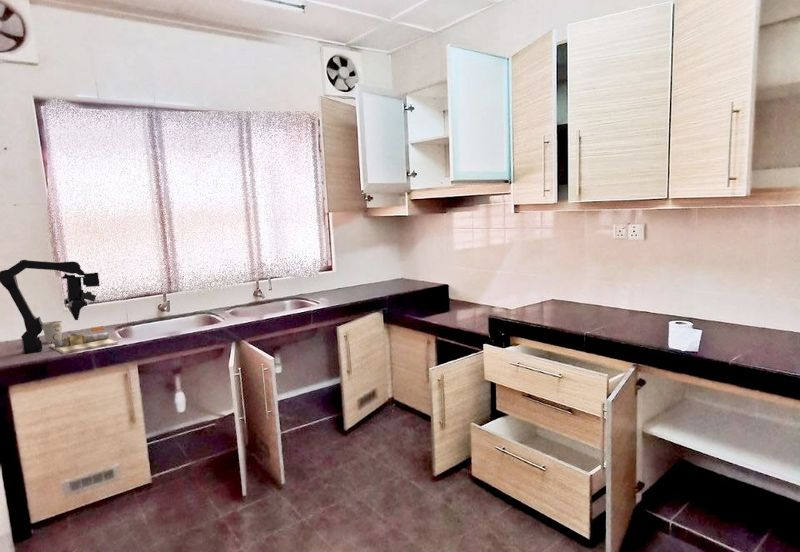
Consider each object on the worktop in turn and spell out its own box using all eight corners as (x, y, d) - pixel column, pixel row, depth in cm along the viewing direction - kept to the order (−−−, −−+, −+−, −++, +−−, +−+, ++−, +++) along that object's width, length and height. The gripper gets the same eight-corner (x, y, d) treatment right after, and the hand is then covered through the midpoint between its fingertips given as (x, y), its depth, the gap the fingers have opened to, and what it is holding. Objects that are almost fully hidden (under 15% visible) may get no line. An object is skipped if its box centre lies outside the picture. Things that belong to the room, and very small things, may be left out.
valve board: (63, 353, 217) (62, 341, 216) (50, 346, 233) (48, 335, 232) (117, 344, 233) (116, 332, 233) (101, 338, 249) (100, 328, 249)
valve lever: (71, 335, 230) (71, 330, 230) (71, 334, 232) (70, 330, 232) (103, 330, 238) (103, 326, 238) (103, 330, 240) (102, 326, 240)
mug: (49, 344, 239) (46, 324, 238) (36, 342, 245) (34, 323, 245) (67, 340, 246) (65, 321, 246) (54, 339, 253) (52, 320, 252)
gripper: (98, 287, 230) (100, 319, 231) (89, 285, 243) (91, 316, 245) (70, 289, 222) (73, 322, 223) (62, 287, 236) (65, 318, 237)
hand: (76, 320), depth 232 cm, fingers closed
